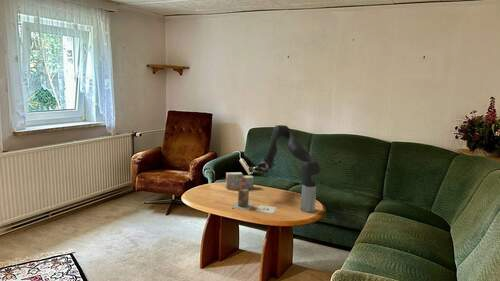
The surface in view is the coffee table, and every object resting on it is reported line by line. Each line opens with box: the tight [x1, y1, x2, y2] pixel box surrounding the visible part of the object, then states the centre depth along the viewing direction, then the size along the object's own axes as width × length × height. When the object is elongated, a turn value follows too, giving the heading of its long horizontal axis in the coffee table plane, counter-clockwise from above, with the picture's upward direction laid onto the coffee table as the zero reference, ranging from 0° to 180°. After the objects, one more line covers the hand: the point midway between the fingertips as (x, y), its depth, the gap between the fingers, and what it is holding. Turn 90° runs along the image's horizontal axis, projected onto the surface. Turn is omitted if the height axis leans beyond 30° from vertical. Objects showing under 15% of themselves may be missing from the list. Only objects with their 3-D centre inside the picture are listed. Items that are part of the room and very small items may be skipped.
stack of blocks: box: [225, 171, 254, 190], centre depth 293 cm, size 21×6×12 cm, turn 103°
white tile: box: [255, 204, 278, 214], centre depth 245 cm, size 12×12×1 cm
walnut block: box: [237, 188, 250, 207], centre depth 249 cm, size 6×6×11 cm
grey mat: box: [231, 201, 255, 211], centre depth 250 cm, size 12×12×1 cm
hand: (256, 171), depth 259 cm, fingers open, 8 cm apart
